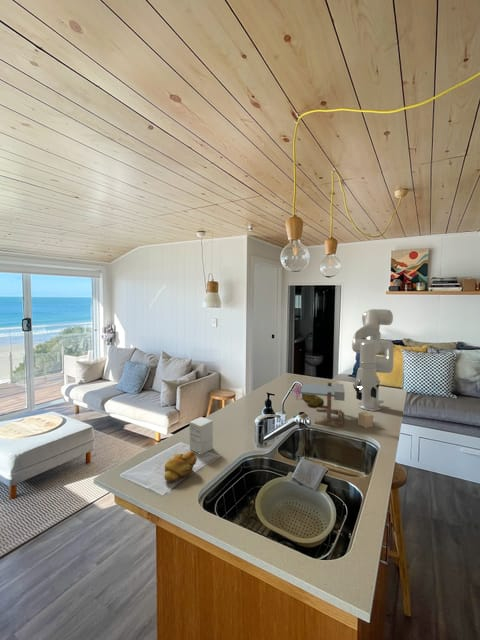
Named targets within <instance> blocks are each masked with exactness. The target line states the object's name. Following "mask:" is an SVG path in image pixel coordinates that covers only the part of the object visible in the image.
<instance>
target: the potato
mask: <svg viewBox="0 0 480 640" xmlns="http://www.w3.org/2000/svg"><path fill="white" fill-rule="evenodd" d="M301 398H302V400H303V402H305V403H306V404H307V405H310V406H311V407H322V406H324V404H325V401H324V399H323V398H322V397H320V396H319V395H310V394H302V397H301Z"/></svg>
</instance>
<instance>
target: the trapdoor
mask: <svg viewBox="0 0 480 640" xmlns="http://www.w3.org/2000/svg"><path fill="white" fill-rule="evenodd" d="M327 392H332V393H331V398H332V397H333V400H334V401H340V402H341V401H343V402H345V396H346V395H345V393H346V392H345V385H344V384H343V383H333V385H331V386H328V385H321V384H310V383H306V384H303V386H302V389H301V392H300V394H310V395H316V396H323V397H327Z"/></svg>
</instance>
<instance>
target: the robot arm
mask: <svg viewBox="0 0 480 640" xmlns="http://www.w3.org/2000/svg"><path fill="white" fill-rule="evenodd" d="M361 319H362V320H361V321H362V325H363V326H361V327H360V328H359V329H357V330H356V331H355V332H354V334H353V336H352V341H351V342H352V344H351V350H352V351H353V352H354V353H357V354H359V367H358V368H357V372H356V377H355V381H354V382H353V383H352V386H353V389H354V391H355V392H356V398H355V399H357V400H359V401H360V402H359V403H358V406H357V407H359V408H360V409H362V410H366V411H373V412H375V411H376V412H378V411H380V410H381V409H382V406H381V405H380V404H384V403H385V400H384V399H379V394H380V393H379V391H380V389H379V388H380V384H381V381H380V379H379V376H378V375H377V373H383V374H391V373H392V372H393V370H394V358H395V357H394V354H395V353H394V351H395V350H394V348H395V347H394V343H393V341H391V340H387V339H381V337H382V336H381V335H382V333H381V331H380V330H381V329H380V328H381V326H390V325H392V323H393V322H394V321H393V320H394V316H393V312H392V311H391V310H390V309H386V308H385V309H381V308H378V309H376V308H375V309H374V308H373V309H368V310H367V311H364V312H363V313H362V316H361Z"/></svg>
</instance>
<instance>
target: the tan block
mask: <svg viewBox="0 0 480 640" xmlns="http://www.w3.org/2000/svg"><path fill="white" fill-rule="evenodd" d="M357 415H358V416H357V418H358V421H357V424H358V425H359V426H361V427H363V428H365V429H366V428H370V427H371V428H372V427H374V422H373V421H374V415H373V414H372V413H369V412H367V411H361V412H358V414H357Z"/></svg>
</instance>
